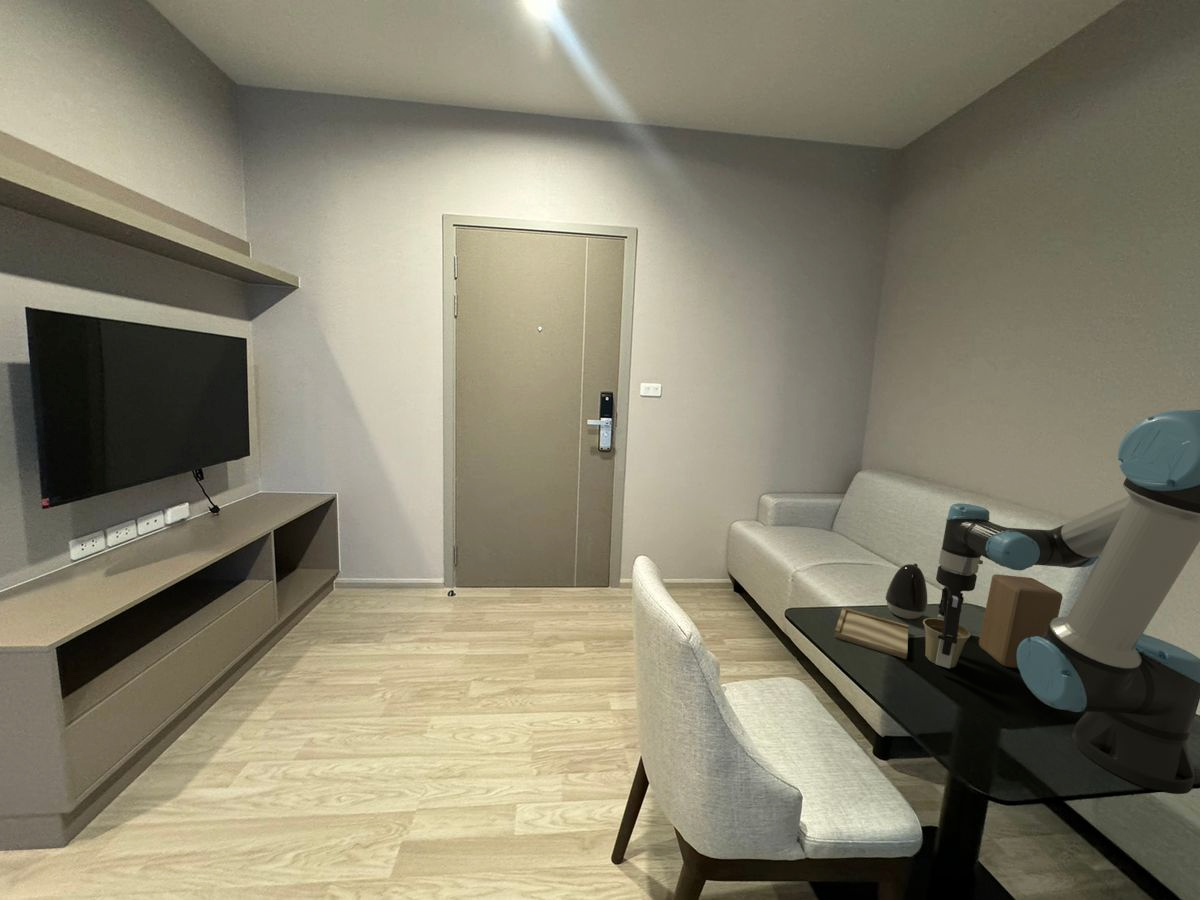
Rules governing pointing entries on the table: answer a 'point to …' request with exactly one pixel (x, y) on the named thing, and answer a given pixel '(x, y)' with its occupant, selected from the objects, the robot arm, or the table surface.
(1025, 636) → the wooden block
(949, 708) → the table surface
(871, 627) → the board
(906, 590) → the black egg-shaped piece
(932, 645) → the flower pot
